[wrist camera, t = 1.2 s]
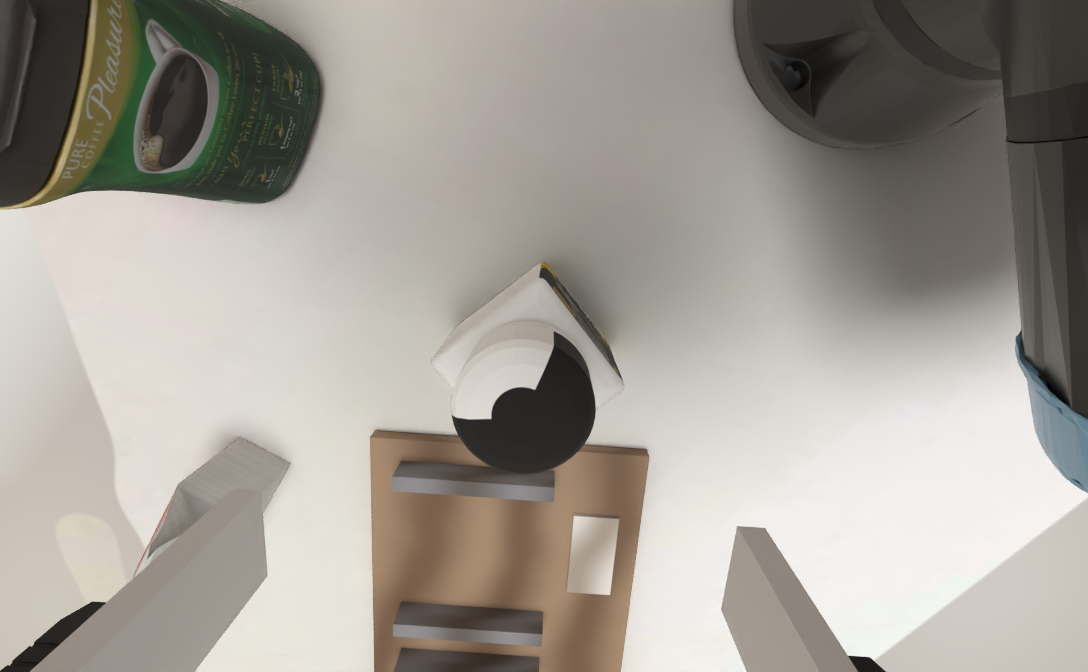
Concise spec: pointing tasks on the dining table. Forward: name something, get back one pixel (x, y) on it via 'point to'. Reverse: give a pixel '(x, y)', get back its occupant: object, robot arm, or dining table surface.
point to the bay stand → (501, 558)
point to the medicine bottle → (527, 376)
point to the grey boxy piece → (215, 490)
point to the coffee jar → (149, 101)
